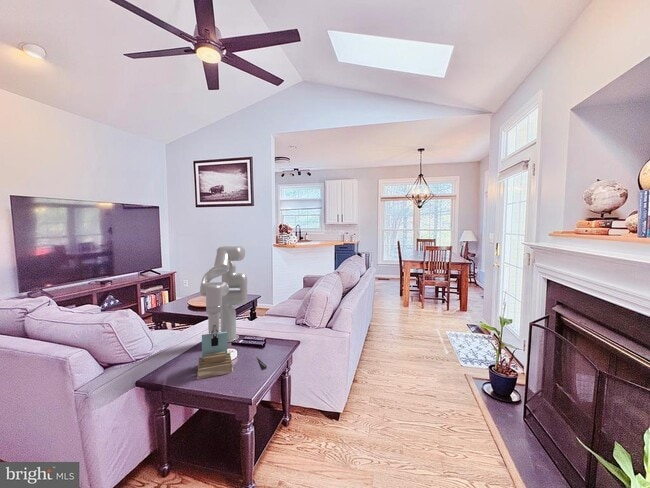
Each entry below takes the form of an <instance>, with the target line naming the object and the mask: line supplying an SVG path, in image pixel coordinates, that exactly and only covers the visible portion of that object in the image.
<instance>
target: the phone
mask: <svg viewBox="0 0 650 488" xmlns="http://www.w3.org/2000/svg"><path fill="white" fill-rule="evenodd" d="M256 360H257V363H258V365H259V367H260V370H261V371H264V370H267V368H268V367H267V365H266V364H265V363H264V362H263V361H262V360H261V359H259V358H258V356H256Z"/></svg>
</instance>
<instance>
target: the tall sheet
mask: <svg viewBox="0 0 650 488" xmlns="http://www.w3.org/2000/svg"><path fill="white" fill-rule="evenodd" d="M211 338H212V334H211V333H210V334H209V333H206V334H201V357H202V360H204V354H211V353H217V352H224V351H225V352H226V356H227V353H228V342H227V332H221V331H219V332H218V346H211Z"/></svg>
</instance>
